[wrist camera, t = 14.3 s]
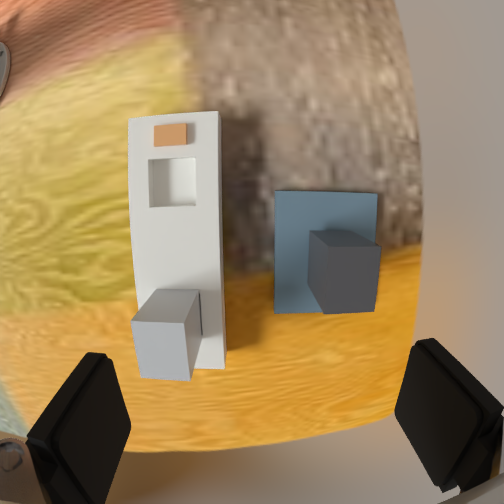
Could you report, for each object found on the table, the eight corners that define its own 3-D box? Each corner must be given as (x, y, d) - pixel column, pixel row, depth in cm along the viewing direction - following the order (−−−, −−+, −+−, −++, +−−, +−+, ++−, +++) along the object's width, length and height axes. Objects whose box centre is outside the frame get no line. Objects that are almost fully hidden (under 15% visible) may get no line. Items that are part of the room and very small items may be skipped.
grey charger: (160, 284, 29) (130, 320, 21) (200, 284, 29) (183, 323, 21) (165, 330, 30) (141, 377, 22) (204, 331, 30) (190, 381, 22)
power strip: (141, 124, 28) (126, 117, 24) (221, 118, 28) (217, 109, 24) (156, 349, 33) (146, 368, 29) (226, 351, 33) (224, 372, 29)
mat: (274, 190, 29) (275, 191, 29) (373, 193, 30) (377, 193, 29) (273, 309, 32) (274, 313, 31) (365, 306, 32) (368, 309, 31)
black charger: (306, 228, 29) (328, 246, 21) (347, 228, 29) (381, 246, 21) (304, 279, 30) (323, 314, 22) (343, 278, 30) (374, 311, 22)
